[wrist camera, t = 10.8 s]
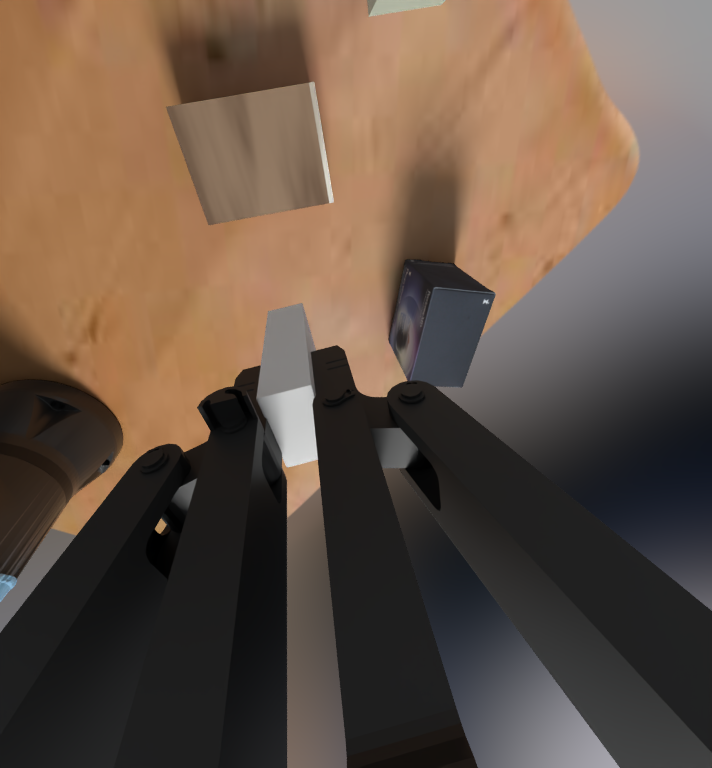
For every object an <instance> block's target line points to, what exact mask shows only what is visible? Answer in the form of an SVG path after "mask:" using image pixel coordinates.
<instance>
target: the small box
mask: <svg viewBox="0 0 712 768" xmlns="http://www.w3.org/2000/svg"><path fill="white" fill-rule="evenodd" d="M495 295H496V294H495V292H493V291H491V290H489V289H487V288H486V287H485V286H483V285H482V284H480V283H479V282H478V281H476V280H475V279H473V278H472V277H471V276H469V275H468V274H466V273H465V272H463V271H462V270H461V269H459V268H458V267H457V266H456V265H455V264H454V263H453V264H452V263H443V262H442V263H438V262H429V261H422V260H410V259H407V260H405V263H404V268H403V273H402V278H401V283H400V288H399V293H398V298H397V303H396V307H395V312H394V317H393V322H392V327H391V332H390V337H389V343H390V345H391V347H392V349H393V351H394V353H395V355H396V357H397V359H398V361H399V364H400V366H401V368H402V370H403V372H404V374H405V376H406V378H407V380H408V381H414V380H419V381H424V382H427V383H429V384H431V385H433V386H439V387H463V384H464V381H465V379H466V376H467V373H468V370H469V367H470V364H471V362H472V359H473V356H474V354H475V351H476V348H477V345H478V342H479V340H480V337H481V334H482V331H483V329H484V326H485V323H486V320H487V317H488V315H489V312H490V309H491V306H492V303H493V301H494V298H495Z"/></svg>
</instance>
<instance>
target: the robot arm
mask: <svg viewBox="0 0 712 768" xmlns="http://www.w3.org/2000/svg"><path fill="white" fill-rule="evenodd" d="M197 408H198V410H199V412H200V413H201V415H202V417H203V418H204V420H205V422H206V424H207V425H208V427H209V429H210V430H211V432H210V435H209V439H208V441H207V442H205V443H203V444H201V445H199V446H197V447H195V448H193V449H191V450H189V451H186V452H183V451H182V449H181V448H180V447H179V446H178V445H176V444H166V445H161V446H158V447H155V448H154V449H151V450H149V451H147V452H146V453H145V454H143V455H142V456H141V457H139V458H138V459H137V460H136V461H135V462H134V463H133V464H132V466H131V467H130V468H129V469H128V471H127V472H126V473H125V475H124V476H123V477H122V478H121V480H120V481H119V482H118V483H117V485H116V486H115V487H114V489H113V490H112V491H111V492H110V494H109V495H108V496H107V497H106V499H105V500H104V501H103V503H102V504H101V505H100V506H99V508H98V509H97V510H96V512H95V513H94V514H93V515H92V517H91V518H90V519H89V520H88V522H87V523H86V524H85V526H84V527H83V528H82V529H81V531H80V532H79V533H78V534H77V536H76V537H75V538H74V540H73V541H72V542H71V543H70V545H69V546H68V547H67V548H66V550H65V551H64V552H63V554H62V555H61V556H60V557H59V559H58V560H57V561H56V563H55V564H54V565H53V566H52V568H51V569H50V570H49V572H48V573H47V574H46V575H45V577H44V578H43V579H42V580H41V582H40V583H39V584H38V586H37V587H36V588H35V589H34V591H33V592H32V593H31V594H30V596H29V597H28V598H27V599H26V601H25V602H24V603H23V605H22V606H21V607H20V609H19V610H18V611H17V612H16V614H15V615H14V616H13V617H12V619H11V620H10V621H9V622H8V624H7V625H6V626H5V628H4V629H3V630H2V631H1V633H0V768H287V480H286V476H285V474H284V471H283V469H282V458H283V460H284V462H285V464H286V467H291V466H295V465H299V464H303V463H306V462H310V461H314V460H318V466H319V476H320V486H321V496H322V505H323V516H324V527H325V536H326V547H327V557H328V567H329V577H330V587H331V597H332V607H333V617H334V626H335V637H336V648H337V657H338V668H339V678H340V688H341V698H342V706H343V707H342V708H343V718H344V727H345V738H346V751H347V768H478V767H477V764H476V762H475V759H474V756H473V753H472V751H471V748H470V746H469V743H468V741H467V738H466V736H465V733H464V730H463V727H462V724H461V722H460V718H459V715H458V712H457V709H456V706H455V702H454V699H453V696H452V693H451V689H450V686H449V683H448V680H447V677H446V673H445V670H444V667H443V664H442V661H441V657H440V654H439V651H438V647H437V644H436V641H435V638H434V635H433V631H432V628H431V625H430V622H429V618H428V615H427V612H426V609H425V605H424V602H423V599H422V596H421V593H420V589H419V586H418V583H417V580H416V576H415V573H414V570H413V567H412V564H411V560H410V557H409V554H408V551H407V547H406V544H405V541H404V538H403V534H402V531H401V528H400V525H399V522H398V518H397V515H396V512H395V508H394V505H393V502H392V499H391V496H390V492H389V489H388V486H387V483H386V479H385V476H384V473H383V470H382V468H399V469H400V471H401V473H402V475H403V476H404V477H405V479H406V480H407V481H408V483H409V484H410V485H411V487H412V488H413V489H414V491H415V492H416V493H417V495H418V496H419V497H420V499H421V500H422V501H423V503H424V504H425V505H426V507H427V508H428V510H429V511H430V512H431V514H432V515H433V516H434V518H435V519H436V520H437V522H438V523H439V524H440V526H441V527H442V528H443V530H444V531H445V533H446V534H447V535H448V536H449V538H450V539H451V541H452V542H453V543H454V545H455V546H456V547H457V549H458V550H459V551H460V553H461V554H462V555H463V557H464V558H465V559H466V561H467V562H468V564H469V565H470V566H471V567H472V569H473V570H474V572H475V573H476V574H477V576H478V577H479V578H480V580H481V581H482V582H483V584H484V585H485V586H486V588H487V589H488V590H489V592H490V593H491V594H492V596H493V597H494V598H495V600H496V601H497V603H498V604H499V605H500V607H501V608H502V609H503V611H504V612H505V613H506V615H507V616H508V617H509V619H510V620H511V621H512V623H513V624H514V625H515V627H516V628H517V629H518V631H519V632H520V634H521V635H522V636H523V638H524V639H525V640H526V642H527V643H528V644H529V646H530V647H531V648H532V650H533V651H534V652H535V654H536V655H537V656H538V658H539V659H540V661H541V662H542V663H543V665H544V666H545V667H546V669H547V670H548V671H549V673H550V674H551V675H552V677H553V678H554V679H555V680H556V682H557V683H558V685H559V686H560V687H561V689H562V690H563V691H564V693H565V694H566V695H567V697H568V698H569V700H570V701H571V702H572V704H573V705H574V706H575V708H576V709H577V710H578V711H579V713H580V714H581V716H582V717H583V718H584V720H585V721H586V722H587V724H588V725H589V727H590V728H591V729H592V730H593V732H594V733H595V735H596V736H597V737H598V739H599V740H600V741H601V743H602V744H603V745H604V747H605V748H606V749H607V751H608V752H609V753H610V755H611V756H612V757H613V759H614V760H615V762H616V763H617V764H618V766H619V767H620V768H712V611H711V610H710V609H709V608H708V607H706V606H705V605H704V604H702V603H701V602H700V601H699V600H698V599H696V598H695V597H694V596H692V595H691V594H690V593H689V592H688V591H687V590H685V589H684V588H683V587H682V586H680V585H679V584H678V583H677V582H675V581H674V580H673V579H672V578H670V577H669V576H668V575H667V574H666V573H664V572H663V571H662V570H661V569H659V568H658V567H657V566H656V565H654V564H653V563H652V562H651V561H649V560H648V559H647V558H646V557H644V556H643V555H642V554H641V553H640V552H638V551H637V550H636V549H635V548H633V547H632V546H631V545H630V544H628V543H627V542H626V541H625V540H623V539H622V538H621V537H620V536H619V535H617V534H616V533H615V532H614V531H612V530H611V529H610V528H609V527H607V526H606V525H605V524H604V523H602V522H601V521H600V520H599V519H598V518H596V517H595V516H594V515H593V514H591V513H590V512H589V511H588V510H586V509H585V508H584V507H583V506H581V505H580V504H579V503H578V502H577V501H575V500H574V499H573V498H572V497H570V496H569V495H568V494H567V493H565V492H564V491H563V490H562V489H560V488H559V487H558V486H557V485H556V484H554V483H553V482H552V481H551V480H549V479H548V478H547V477H546V476H544V475H543V474H542V473H541V472H539V471H538V470H537V469H536V468H534V467H533V466H532V465H531V464H530V463H528V462H527V461H526V460H525V459H523V458H522V457H521V456H520V455H518V454H517V453H516V452H515V451H513V450H512V449H511V448H510V447H509V446H507V445H506V444H505V443H504V442H502V441H501V440H500V439H499V438H497V437H496V436H495V435H494V434H492V433H491V432H490V431H489V430H488V429H486V428H485V427H484V426H482V425H481V424H480V423H479V422H478V421H476V420H475V419H474V418H473V417H471V416H470V415H469V414H468V413H467V412H465V411H464V410H463V409H462V408H460V407H459V406H458V405H457V404H455V403H454V402H453V401H451V400H450V399H449V398H448V397H447V396H445V395H444V394H443V393H442V392H440V391H439V390H438V389H437V388H436V387H434V386H433V385H431V384H429V383H427V382H424V381H419V380H414V381H406V382H402V383H399V384H397V385H396V386H394V387H392V388H391V390H390V391H389V392H388V395H387V397H369V396H366V395H363V394H361V393H360V392H359V391H358V390H357V388H356V386H355V383H354V380H353V377H352V373H351V370H350V367H349V364H348V360H347V357H346V354H345V351H344V350H343V349H342V348H340V347H339V346H337V345H336V346H332V347H328V348H324V349H320V350H316V349H315V345H314V342H313V338H312V335H311V332H310V328H309V325H308V321H307V318H306V314H305V311H304V307H303V304H302V303H301V304H297V305H292V306H288V307H284V308H280V309H276V310H272V311H268V316H267V324H266V331H265V338H264V346H263V353H262V360H261V366H257V367H253V368H249V369H245V370H243V371H242V372H241V373H240V374H239V375H238V377H237V378H236V380H235V384H234V386H233V387H226V388H223V389H220V390H218V391H215V392H214V393H212V394H210V395H208V396H207V397H206V398H205V399H204V400H202V401H201V403H200V404H199V406H198V407H197ZM122 445H123V433H122V430H121V427H120V425H119V423H118V421H117V419H116V418H115V417H114V415H113V414H112V413H111V412H110V411H109V410H108V409H107V408H106V407H105V406H104V405H103V404H101V403H100V402H99V401H97V400H96V399H94V398H93V397H91V396H89V395H88V394H86V393H84V392H82V391H80V390H77V389H75V388H72V387H70V386H67V385H63V384H60V383H55V382H50V381H43V380H19V381H13V382H9V383H5V384H3V385H0V602H1V601H2V599H3V598H4V597H5V596H6V594H7V593H8V592H9V590H11V589H12V588H13V587H14V586H15V584H16V582H17V578H18V577H19V575H20V574H21V572H22V571H23V569H24V568H25V566H26V565H27V563H28V562H29V560H30V559H31V557H32V556H33V554H34V553H35V551H36V550H37V548H38V547H39V545H40V544H41V542H42V541H43V539H44V538H45V536H46V535H47V533H48V532H49V530H50V529H51V527H52V526H53V524H54V523H55V521H56V520H57V518H58V517H59V515H60V514H61V512H62V511H63V509H64V508H65V506H66V505H67V503H68V502H69V500H70V499H71V498H72V497H73V496H74V495H75V494H76V493H78V492H79V491H80V490H82V489H83V488H84V487H86V486H87V485H88V484H89V483H91V482H92V481H93V480H95V479H96V478H97V477H99V476H100V475H101V474H102V473H104V472H105V471H106V470H107V469H108V468H109V467H110V466H111V465H112V463H113V462H114V460H115V459H116V457H117V456H118V454H119V452H120V450H121V448H122ZM161 518H162V519H163V521H164V522H165V523H166V524H167V525H166V527H165V529H164V530H163V531H162V532H161V534H159V533H157V531H156V530H155V527H156V526H157V524H158V522H159V521H160V519H161Z"/></svg>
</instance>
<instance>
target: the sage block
mask: <svg viewBox="0 0 712 768" xmlns="http://www.w3.org/2000/svg"><path fill="white" fill-rule="evenodd" d="M444 1H445V0H367V2H368V14H369V17H370V16H376V15H382V14H388V13H394V12H400V11H407V10H413V9H419V8H425V7H431V6H437V5H442V4H443V2H444Z"/></svg>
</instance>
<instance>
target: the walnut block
mask: <svg viewBox="0 0 712 768" xmlns="http://www.w3.org/2000/svg"><path fill="white" fill-rule="evenodd" d="M166 108H167V111H168V114H169V117H170V120H171V122H172V125H173V128H174V131H175V133H176V136H177V139H178V142H179V144H180V147H181V150H182V153H183V156H184V158H185V161H186V164H187V167H188V169H189V172H190V175H191V178H192V181H193V183H194V186H195V189H196V192H197V194H198V197H199V200H200V203H201V205H202V208H203V211H204V214H205V217H206V219H207V222H208V225H213V224H218V223H224V222H229V221H235V220H240V219H245V218H251V217H256V216H262V215H267V214H273V213H278V212H284V211H289V210H294V209H300V208H305V207H311V206H316V205H322V204H327V203H333V202H334V200H333V194H332V188H331V181H330V175H329V169H328V163H327V157H326V151H325V145H324V139H323V132H322V126H321V120H320V114H319V108H318V102H317V96H316V90H315V83H314V82H310V83H304V84H298V85H292V86H286V87H280V88H274V89H268V90H262V91H257V92H251V93H245V94H239V95H233V96H227V97H221V98H215V99H209V100H204V101H198V102H192V103H186V104H180V105H174V106H168V107H166Z"/></svg>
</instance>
